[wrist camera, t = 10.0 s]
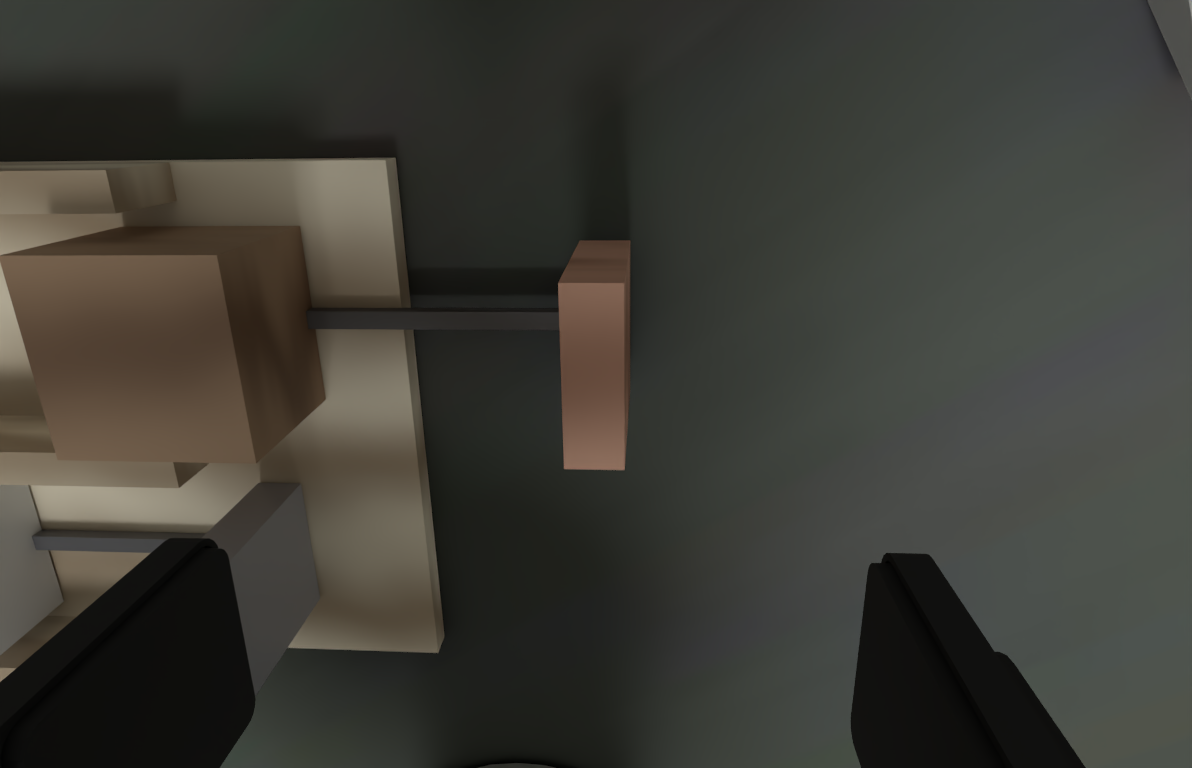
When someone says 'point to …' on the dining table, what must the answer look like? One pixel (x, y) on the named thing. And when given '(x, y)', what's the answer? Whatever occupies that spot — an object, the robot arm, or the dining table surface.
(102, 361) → the walnut block
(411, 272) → the dining table surface
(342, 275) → the lane shelf
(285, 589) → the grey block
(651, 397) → the dining table surface
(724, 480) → the dining table surface
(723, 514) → the dining table surface
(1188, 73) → the die
